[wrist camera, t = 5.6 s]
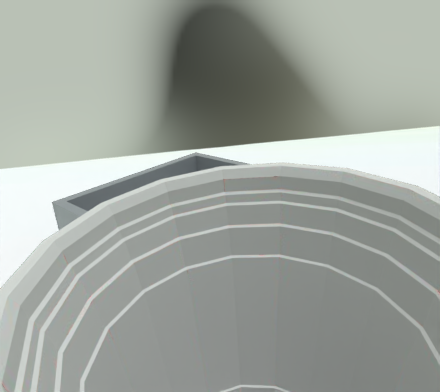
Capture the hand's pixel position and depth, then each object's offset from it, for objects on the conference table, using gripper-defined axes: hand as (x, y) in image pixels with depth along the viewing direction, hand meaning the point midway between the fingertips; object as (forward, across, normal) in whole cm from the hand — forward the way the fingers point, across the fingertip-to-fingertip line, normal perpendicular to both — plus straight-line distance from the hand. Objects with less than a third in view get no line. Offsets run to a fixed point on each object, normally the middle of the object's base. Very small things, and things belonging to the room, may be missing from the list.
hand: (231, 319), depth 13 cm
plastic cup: (-3, 0, -7) cm, 8 cm away
